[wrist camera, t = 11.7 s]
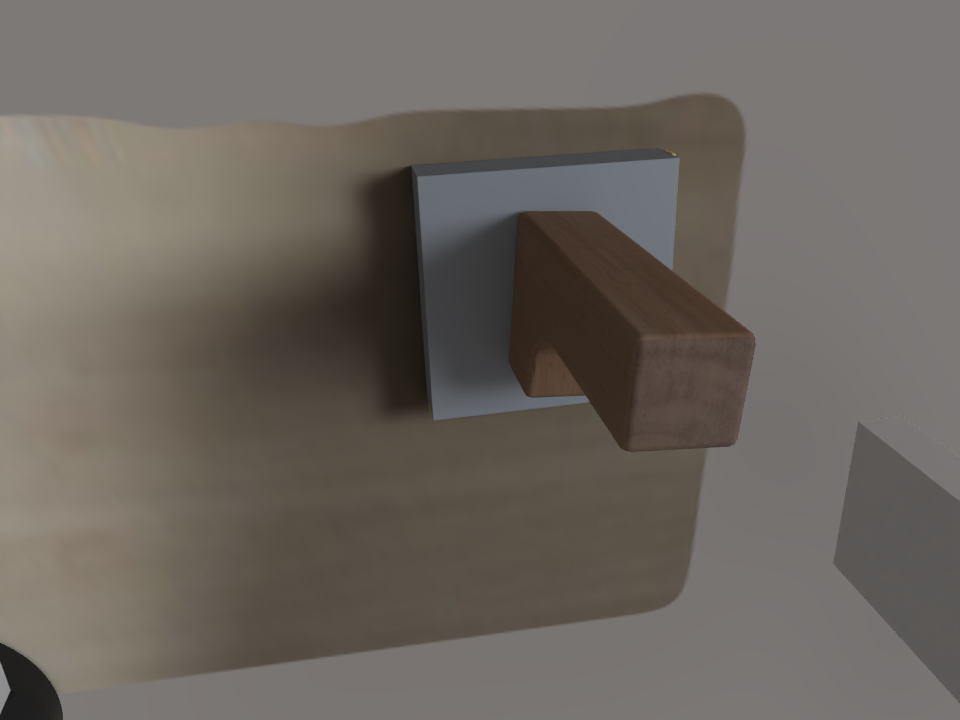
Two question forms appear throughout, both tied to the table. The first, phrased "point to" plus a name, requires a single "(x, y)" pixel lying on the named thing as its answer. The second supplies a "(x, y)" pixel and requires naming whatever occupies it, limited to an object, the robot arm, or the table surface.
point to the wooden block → (624, 335)
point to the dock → (491, 256)
